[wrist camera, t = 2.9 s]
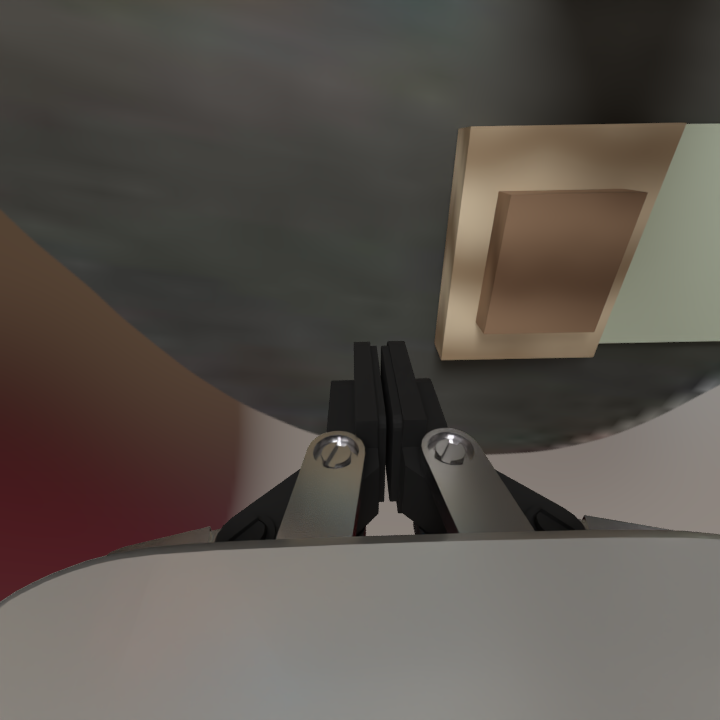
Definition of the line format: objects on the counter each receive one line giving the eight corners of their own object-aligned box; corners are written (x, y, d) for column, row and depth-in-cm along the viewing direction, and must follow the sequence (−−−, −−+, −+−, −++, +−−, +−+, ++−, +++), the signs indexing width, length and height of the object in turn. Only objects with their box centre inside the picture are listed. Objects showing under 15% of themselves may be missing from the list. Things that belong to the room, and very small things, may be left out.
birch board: (458, 128, 20) (471, 126, 18) (650, 125, 20) (687, 122, 18) (434, 343, 27) (441, 360, 25) (574, 340, 27) (593, 357, 25)
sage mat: (659, 125, 20) (666, 124, 19) (860, 121, 20) (871, 120, 19) (580, 340, 27) (584, 343, 27) (726, 337, 27) (732, 340, 27)
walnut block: (498, 191, 19) (511, 195, 18) (624, 188, 19) (648, 192, 18) (475, 321, 23) (483, 334, 22) (578, 320, 23) (594, 332, 22)
